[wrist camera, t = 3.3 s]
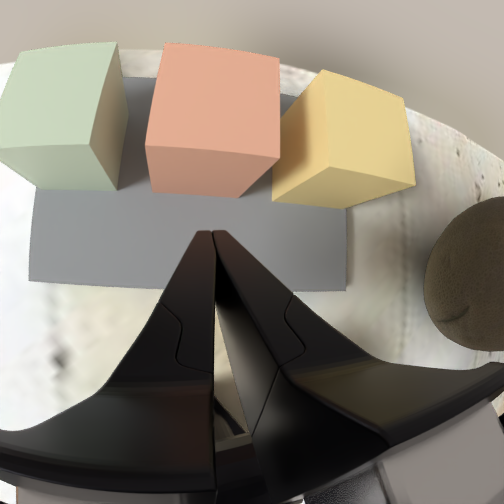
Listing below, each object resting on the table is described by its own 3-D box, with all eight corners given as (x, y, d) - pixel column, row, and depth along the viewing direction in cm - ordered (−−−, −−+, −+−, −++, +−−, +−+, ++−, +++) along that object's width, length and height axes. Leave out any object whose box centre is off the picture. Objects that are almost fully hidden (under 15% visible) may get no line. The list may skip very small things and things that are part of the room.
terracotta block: (237, 198, 22) (280, 158, 14) (152, 192, 20) (144, 145, 12) (241, 123, 22) (279, 58, 14) (162, 115, 20) (165, 42, 12)
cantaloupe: (463, 339, 30) (565, 355, 15) (383, 338, 26) (522, 373, 12) (474, 225, 31) (573, 210, 17) (399, 192, 27) (529, 152, 13)
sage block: (116, 191, 19) (88, 144, 11) (41, 190, 18) (-16, 150, 10) (128, 114, 20) (117, 41, 12) (57, 115, 18) (20, 52, 10)
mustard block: (342, 209, 24) (415, 185, 16) (271, 201, 22) (329, 166, 14) (339, 141, 24) (403, 98, 16) (272, 127, 23) (322, 69, 15)
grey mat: (338, 290, 25) (345, 290, 24) (35, 280, 18) (28, 280, 17) (333, 113, 26) (340, 107, 25) (66, 86, 19) (63, 79, 18)
